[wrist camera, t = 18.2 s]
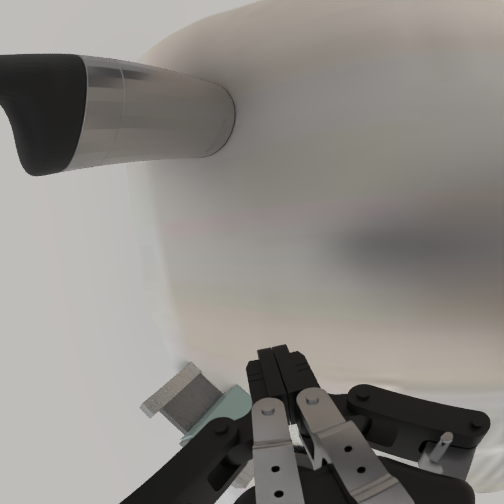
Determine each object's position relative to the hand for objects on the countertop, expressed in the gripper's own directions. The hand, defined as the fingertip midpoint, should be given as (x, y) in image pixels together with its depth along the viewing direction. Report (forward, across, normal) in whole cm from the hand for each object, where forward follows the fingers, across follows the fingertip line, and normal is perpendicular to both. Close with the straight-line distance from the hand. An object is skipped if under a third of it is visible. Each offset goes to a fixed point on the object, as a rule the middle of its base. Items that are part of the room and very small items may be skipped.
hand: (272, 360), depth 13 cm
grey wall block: (+23, +7, +28) cm, 37 cm away
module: (+22, +4, +24) cm, 33 cm away
